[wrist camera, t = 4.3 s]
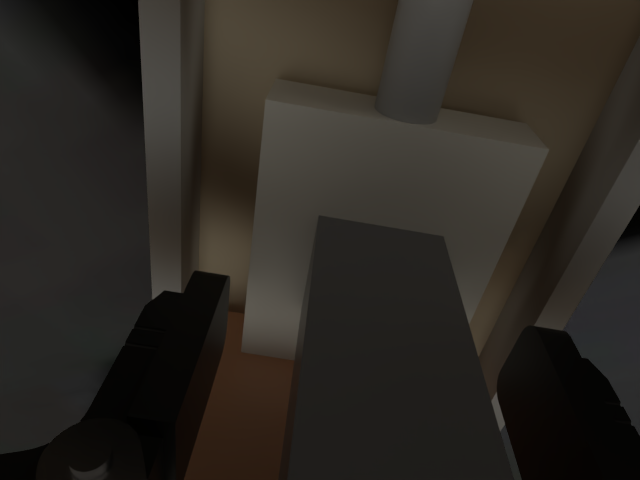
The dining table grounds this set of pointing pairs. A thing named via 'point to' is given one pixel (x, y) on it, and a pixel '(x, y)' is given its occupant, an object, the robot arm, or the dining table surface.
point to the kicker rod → (370, 277)
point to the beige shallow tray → (364, 77)
